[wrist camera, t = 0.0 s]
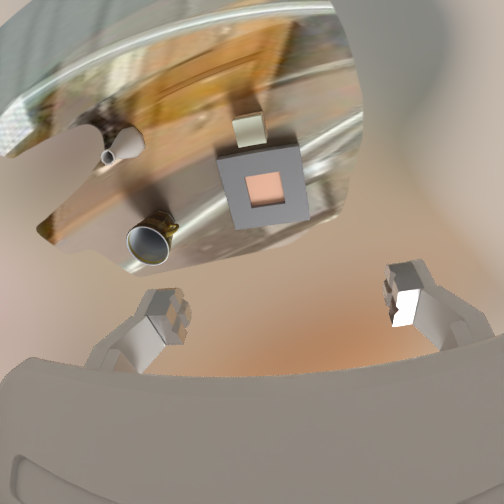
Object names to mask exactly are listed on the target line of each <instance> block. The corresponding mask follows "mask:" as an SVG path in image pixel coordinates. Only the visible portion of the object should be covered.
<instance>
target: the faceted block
mask: <svg viewBox="0 0 504 504" xmlns="http://www.w3.org/2000/svg"><path fill="white" fill-rule="evenodd" d="M232 124H233V128H234V132H235V136H236V140H237V144H238V148H240V147H245V146H251V145H256V144H262V143H267V137H268V133H267V129H266V124H265V119H264V115H263V111H258V112H253V113H248V114H243V115H238V116H236V117H235V118H234V119H233V121H232Z"/></svg>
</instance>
